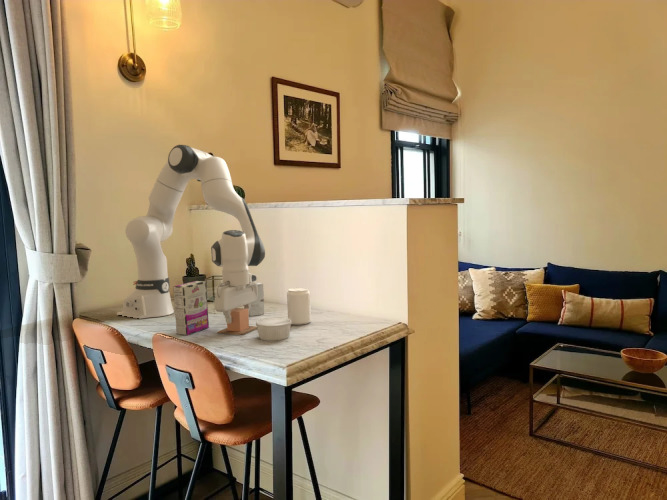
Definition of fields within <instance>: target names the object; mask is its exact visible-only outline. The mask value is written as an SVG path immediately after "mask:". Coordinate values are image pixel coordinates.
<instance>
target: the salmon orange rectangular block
mask: <svg viewBox="0 0 667 500" xmlns="http://www.w3.org/2000/svg"><path fill="white" fill-rule="evenodd" d="M230 315H231V317H233V322H232V323H230V324H229V323H226V328H227V330H228V331H240V332H241V331H243V330H245V329H248V328H249V326H250V322H249V321H250V320H249V319H250V318H249V317H250V316H249V315H248V309H244V307H238V308H235V309H232V310H231V313H230Z"/></svg>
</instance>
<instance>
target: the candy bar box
mask: <svg viewBox="0 0 667 500" xmlns="http://www.w3.org/2000/svg"><path fill="white" fill-rule="evenodd" d="M172 290H173V302H174V303H173V304H174V305H173V306H174V314H175V316H174V317H175V327H176V328H175V331H176V332H175V333H176V335H178V336H179V335H180V336H190V335H192V334H194V333H195V334H196V333H199V332H200V331H203V330H206V329H208V328H210V326H209V309H208V296H207V293H208V292H207V282H206V281H204V280H200V281H199V280H195V281H191V282H187V283H181V284H177V285H174V286H172Z"/></svg>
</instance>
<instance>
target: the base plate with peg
mask: <svg viewBox="0 0 667 500" xmlns="http://www.w3.org/2000/svg"><path fill="white" fill-rule="evenodd" d="M256 330H258V329H257V326H256V325H255V326H254V325H249V328H248V329H245V330H243V331H241V332H240V331H228V330H227V327H226V328H223V329H221V330H219V331H218V330H217V332H216V334H222V335H223V334H224V335H235V336H245V335H247V334H249V333H252V332H253V331H256Z"/></svg>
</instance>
